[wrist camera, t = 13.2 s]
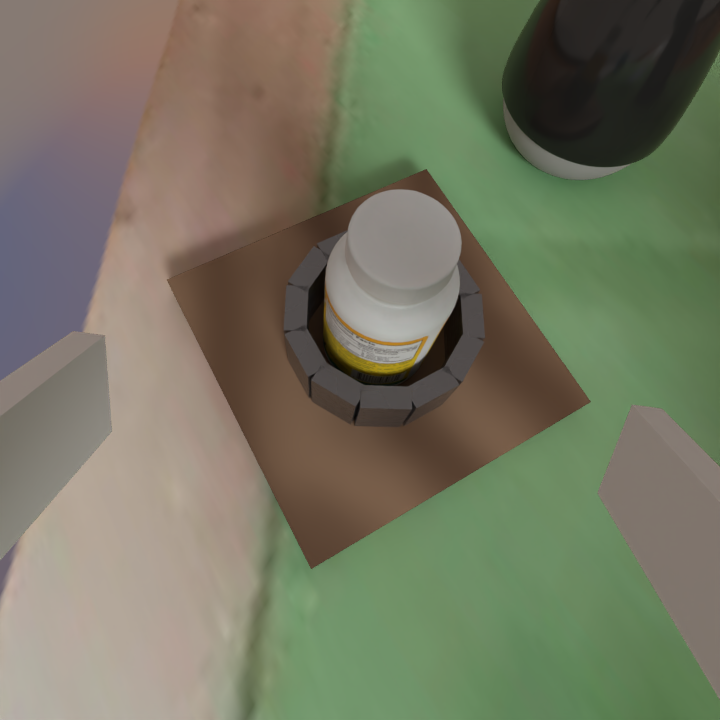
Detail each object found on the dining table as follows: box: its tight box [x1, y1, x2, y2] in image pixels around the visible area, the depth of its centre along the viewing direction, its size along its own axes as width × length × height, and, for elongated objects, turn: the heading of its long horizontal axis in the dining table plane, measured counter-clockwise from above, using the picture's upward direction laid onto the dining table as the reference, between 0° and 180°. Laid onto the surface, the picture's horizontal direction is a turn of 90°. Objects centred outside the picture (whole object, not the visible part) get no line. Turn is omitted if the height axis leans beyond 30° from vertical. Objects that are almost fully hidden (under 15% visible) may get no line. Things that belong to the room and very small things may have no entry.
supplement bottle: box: [323, 189, 462, 386], centre depth 23 cm, size 5×5×10 cm
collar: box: [284, 230, 485, 427], centre depth 25 cm, size 9×9×4 cm
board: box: [167, 169, 591, 569], centre depth 28 cm, size 16×16×2 cm
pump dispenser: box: [502, 0, 720, 180], centre depth 27 cm, size 10×10×15 cm
